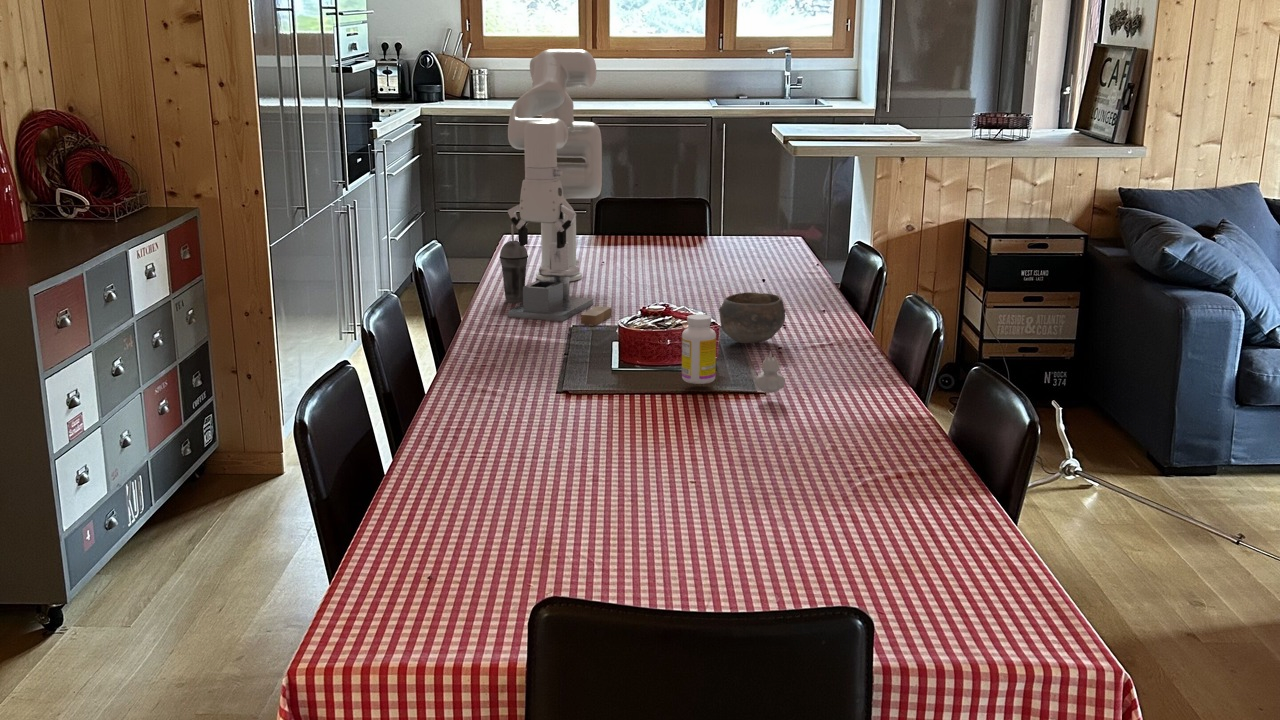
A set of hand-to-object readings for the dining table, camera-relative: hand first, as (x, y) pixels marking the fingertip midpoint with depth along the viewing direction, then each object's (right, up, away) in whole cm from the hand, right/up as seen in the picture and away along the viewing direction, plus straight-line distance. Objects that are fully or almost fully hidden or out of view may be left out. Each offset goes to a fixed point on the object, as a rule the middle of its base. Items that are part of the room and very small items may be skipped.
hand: (542, 246), depth 290 cm
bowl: (+48, -23, -20) cm, 57 cm away
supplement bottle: (+35, -31, -51) cm, 69 cm away
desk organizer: (+2, -15, +9) cm, 18 cm away
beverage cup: (-8, -12, +19) cm, 24 cm away
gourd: (+48, -34, -59) cm, 83 cm away
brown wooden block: (+11, -18, -5) cm, 22 cm away
